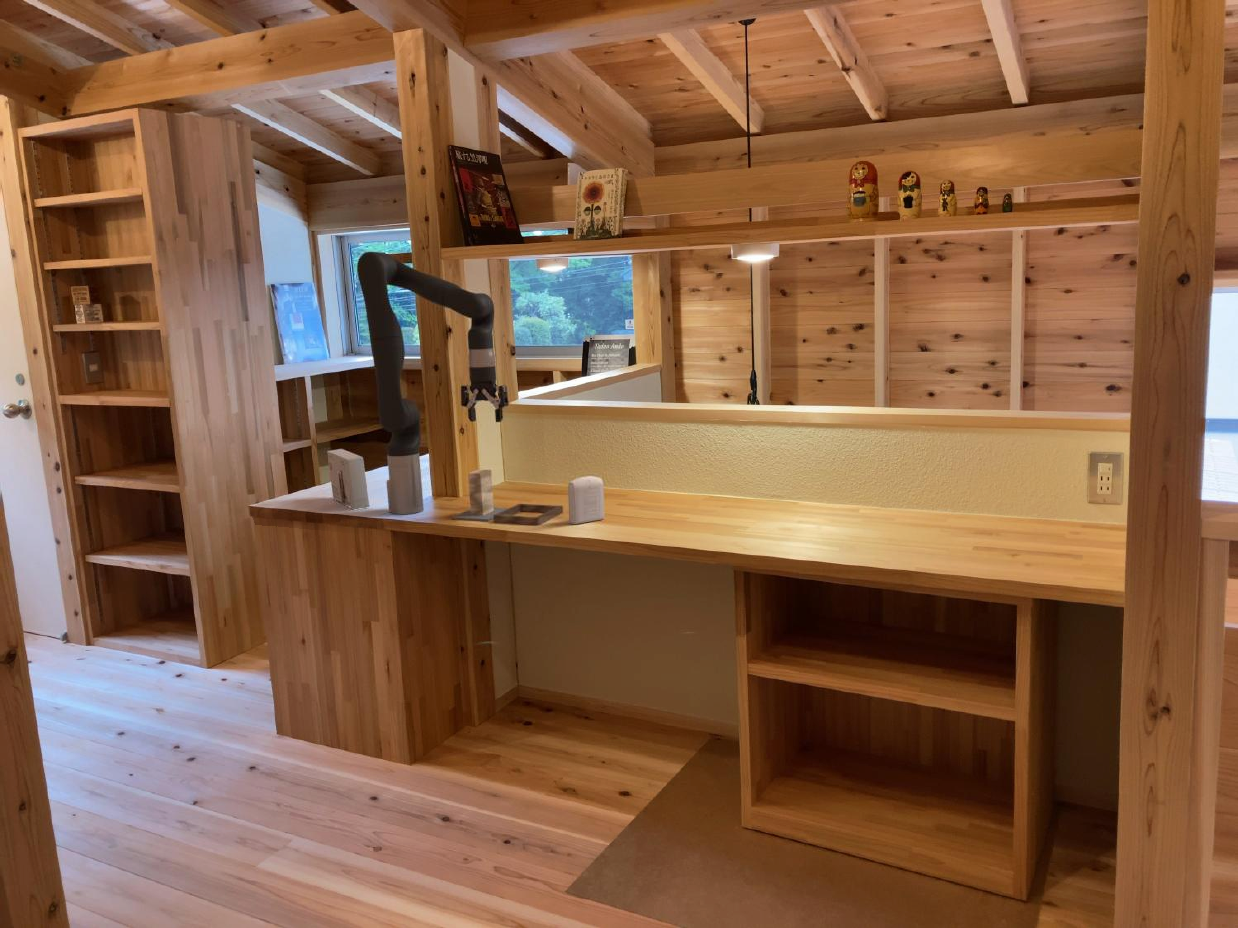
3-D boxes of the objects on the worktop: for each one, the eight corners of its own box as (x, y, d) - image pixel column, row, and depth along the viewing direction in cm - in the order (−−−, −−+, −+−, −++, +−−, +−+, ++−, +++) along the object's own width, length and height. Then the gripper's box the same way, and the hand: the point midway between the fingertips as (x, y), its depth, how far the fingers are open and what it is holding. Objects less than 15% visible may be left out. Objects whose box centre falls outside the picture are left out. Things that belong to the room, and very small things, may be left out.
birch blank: (471, 514, 274) (468, 473, 272) (481, 509, 279) (479, 469, 277) (483, 515, 272) (480, 473, 270) (493, 510, 278) (491, 469, 276)
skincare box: (331, 499, 306) (326, 450, 303) (347, 497, 309) (343, 448, 306) (352, 510, 289) (347, 458, 286) (370, 507, 292) (365, 456, 289)
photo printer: (598, 516, 268) (596, 473, 265) (607, 519, 264) (605, 475, 262) (566, 522, 262) (564, 478, 260) (575, 525, 259) (572, 480, 256)
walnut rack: (493, 522, 266) (493, 515, 266) (519, 510, 280) (519, 503, 279) (538, 525, 261) (538, 518, 260) (563, 512, 274) (562, 505, 274)
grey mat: (451, 519, 272) (451, 517, 272) (477, 508, 284) (477, 506, 284) (488, 521, 267) (488, 519, 267) (512, 510, 280) (512, 508, 280)
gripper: (453, 366, 271) (457, 423, 274) (497, 365, 265) (500, 424, 268) (467, 364, 278) (471, 419, 281) (510, 363, 272) (514, 420, 275)
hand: (485, 421), depth 275 cm, fingers open, 8 cm apart
